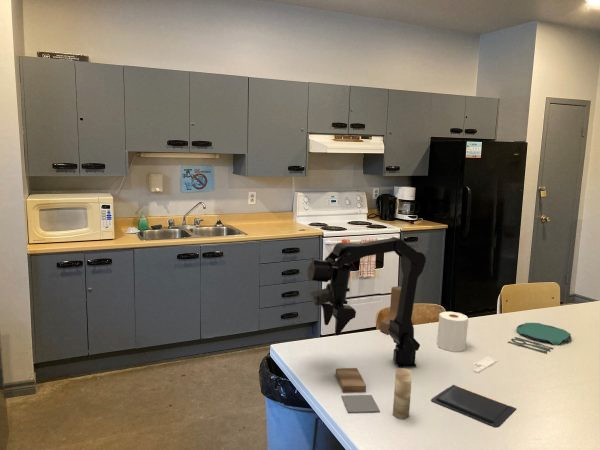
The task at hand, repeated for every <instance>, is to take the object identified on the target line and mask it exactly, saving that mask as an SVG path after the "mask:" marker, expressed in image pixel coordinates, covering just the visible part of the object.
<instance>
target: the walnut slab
mask: <svg viewBox="0 0 600 450" xmlns="http://www.w3.org/2000/svg"><path fill="white" fill-rule="evenodd" d="M334 374H335V376H336V380H337V382H338V384H339V387H340V389H341V391H342V393H346V394H347V393H366V392H367V385H366V383H365V380H364V379H363V377H362V375H361V373H360V371H359V369H358V368H357V367H349V368H347V367H346V368H345V367H344V368H343V367H342V368H341V367H340V368H338V367H337V368H336V367H335V373H334Z"/></svg>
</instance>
